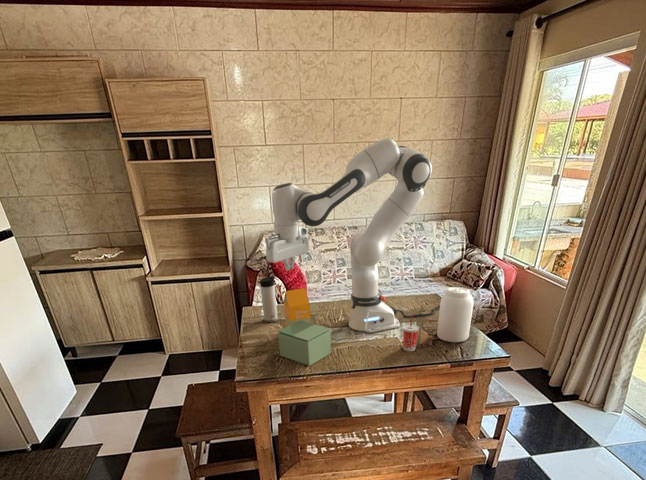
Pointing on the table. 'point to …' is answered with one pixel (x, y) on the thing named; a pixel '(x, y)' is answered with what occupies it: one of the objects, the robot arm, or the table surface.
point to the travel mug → (268, 299)
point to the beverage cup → (410, 336)
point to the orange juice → (296, 306)
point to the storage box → (306, 345)
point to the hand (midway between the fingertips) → (289, 269)
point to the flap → (296, 328)
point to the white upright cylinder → (455, 315)
